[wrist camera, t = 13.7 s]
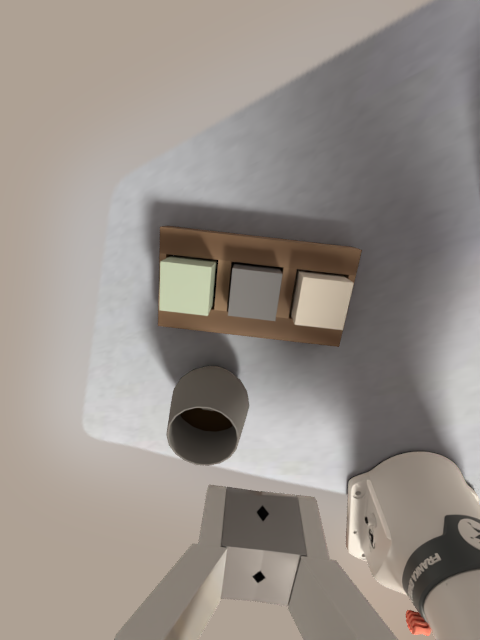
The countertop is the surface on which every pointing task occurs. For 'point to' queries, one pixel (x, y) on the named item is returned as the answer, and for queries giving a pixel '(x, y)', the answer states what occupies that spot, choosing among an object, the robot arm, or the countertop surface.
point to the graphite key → (254, 291)
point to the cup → (207, 415)
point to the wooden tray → (262, 253)
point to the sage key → (187, 285)
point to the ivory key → (320, 299)
